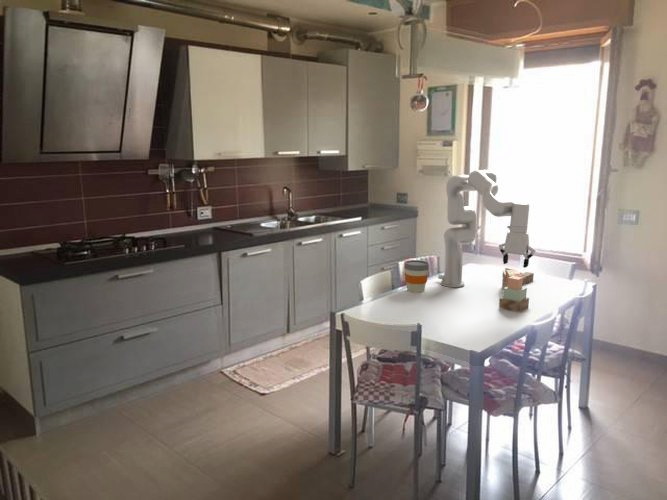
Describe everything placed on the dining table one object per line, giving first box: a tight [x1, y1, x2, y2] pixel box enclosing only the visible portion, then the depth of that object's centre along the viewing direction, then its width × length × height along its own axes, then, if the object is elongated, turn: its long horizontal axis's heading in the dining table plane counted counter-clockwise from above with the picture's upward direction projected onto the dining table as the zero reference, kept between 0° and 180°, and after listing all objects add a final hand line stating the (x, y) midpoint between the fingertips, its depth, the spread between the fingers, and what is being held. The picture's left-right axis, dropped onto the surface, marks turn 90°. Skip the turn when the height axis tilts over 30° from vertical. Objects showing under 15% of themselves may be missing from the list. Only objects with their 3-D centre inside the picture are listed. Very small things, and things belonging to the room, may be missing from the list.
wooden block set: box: [504, 267, 535, 286], centre depth 308 cm, size 17×6×18 cm
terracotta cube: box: [507, 276, 524, 290], centre depth 257 cm, size 5×5×5 cm
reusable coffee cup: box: [404, 259, 430, 294], centre depth 285 cm, size 13×13×15 cm
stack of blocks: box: [501, 269, 522, 290], centre depth 282 cm, size 21×6×12 cm, turn 171°
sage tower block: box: [502, 286, 528, 302], centre depth 258 cm, size 8×8×5 cm
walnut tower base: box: [498, 296, 530, 313], centre depth 259 cm, size 10×10×5 cm
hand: (515, 265), depth 255 cm, fingers open, 9 cm apart
